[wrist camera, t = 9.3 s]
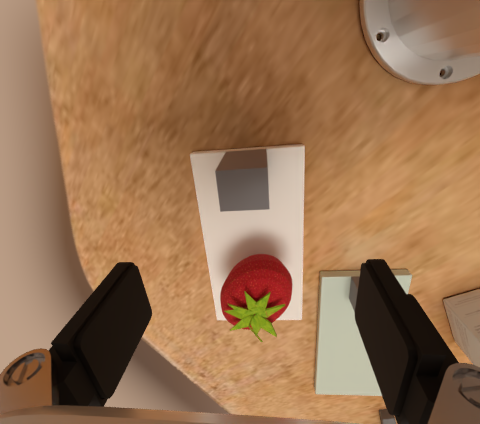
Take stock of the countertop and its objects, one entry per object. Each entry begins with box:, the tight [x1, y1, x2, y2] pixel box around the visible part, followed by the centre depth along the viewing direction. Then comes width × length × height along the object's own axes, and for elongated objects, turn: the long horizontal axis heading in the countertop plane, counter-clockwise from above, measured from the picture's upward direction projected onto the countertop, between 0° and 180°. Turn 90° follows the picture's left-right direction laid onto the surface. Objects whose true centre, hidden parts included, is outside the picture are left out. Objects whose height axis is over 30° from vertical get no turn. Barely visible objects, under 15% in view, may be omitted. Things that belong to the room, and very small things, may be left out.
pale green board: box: [314, 269, 412, 396], centre depth 31 cm, size 20×9×4 cm, turn 5°
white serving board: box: [190, 144, 305, 320], centre depth 25 cm, size 20×10×7 cm, turn 5°
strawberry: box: [220, 254, 292, 342], centre depth 24 cm, size 6×8×10 cm
